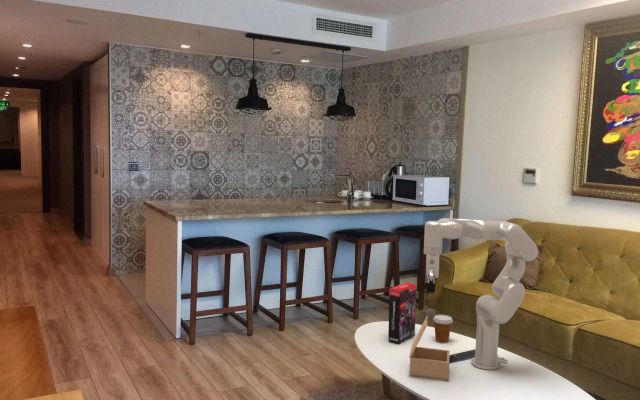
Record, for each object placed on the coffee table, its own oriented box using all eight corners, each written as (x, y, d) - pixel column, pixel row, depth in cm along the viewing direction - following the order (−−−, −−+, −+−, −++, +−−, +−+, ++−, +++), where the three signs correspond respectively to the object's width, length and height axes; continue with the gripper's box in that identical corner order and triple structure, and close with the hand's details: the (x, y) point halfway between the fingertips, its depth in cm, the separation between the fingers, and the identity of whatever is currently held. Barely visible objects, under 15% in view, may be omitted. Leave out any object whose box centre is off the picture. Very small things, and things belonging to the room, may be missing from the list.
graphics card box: (398, 345, 268) (401, 291, 265) (386, 341, 272) (388, 288, 269) (415, 335, 281) (417, 284, 278) (403, 332, 285) (405, 281, 282)
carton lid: (437, 306, 241) (429, 302, 242) (436, 316, 227) (427, 312, 228) (416, 347, 246) (408, 343, 246) (414, 360, 232) (405, 355, 232)
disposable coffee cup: (428, 340, 275) (429, 317, 274) (438, 335, 282) (439, 313, 281) (445, 345, 269) (446, 322, 268) (455, 340, 276) (456, 317, 274)
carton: (448, 367, 243) (449, 350, 242) (448, 381, 229) (449, 362, 228) (412, 363, 247) (413, 346, 246) (409, 376, 233) (410, 358, 232)
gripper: (441, 254, 224) (439, 295, 226) (442, 246, 241) (440, 284, 243) (422, 253, 226) (421, 294, 228) (424, 245, 243) (423, 283, 245)
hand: (431, 289), depth 236 cm, fingers open, 9 cm apart
